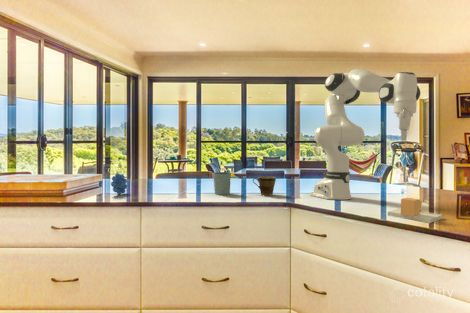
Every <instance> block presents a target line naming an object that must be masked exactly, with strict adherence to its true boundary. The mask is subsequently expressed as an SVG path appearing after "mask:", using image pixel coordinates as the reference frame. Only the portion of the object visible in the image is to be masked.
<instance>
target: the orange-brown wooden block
mask: <svg viewBox="0 0 470 313" xmlns="http://www.w3.org/2000/svg"><path fill="white" fill-rule="evenodd" d="M420 201H421V199H420V198H412V197H403V198H401V200H400V208H401V214H403V215H408V216H413V217H414V216H417V215H420Z"/></svg>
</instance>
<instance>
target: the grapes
mask: <svg viewBox="0 0 470 313" xmlns="http://www.w3.org/2000/svg"><path fill="white" fill-rule="evenodd" d="M111 180H112V181H111V183H110V185H111V187H112V191H113V192H114V193H116V194H117V195H118V196H119V195H121V194H125V193H126V189H128V185H127V183H128V179H127V178H125V175H124V174H123V173H121V174H120V173H119V172H117V173H116V174H115V175H114V176H112V177H111Z"/></svg>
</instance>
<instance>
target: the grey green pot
mask: <svg viewBox="0 0 470 313" xmlns="http://www.w3.org/2000/svg"><path fill="white" fill-rule="evenodd" d="M212 176H213V187H214V194H215V195H216V196H217V195H218V196H229V195H230V194H231V176H232V173H231V172H230V171H229V172H227V171H225V172H224V171H223V172H222V171H220V172H219V171H217V172H212Z"/></svg>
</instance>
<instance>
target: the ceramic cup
mask: <svg viewBox="0 0 470 313" xmlns="http://www.w3.org/2000/svg"><path fill="white" fill-rule="evenodd" d="M276 179H277V177H276V176H271V175H270V176H269V175H266V176H264V175H263V176H258V177H257V178H256V177H254V178H253V179H252V182H253V184H255V186H257V187H258V189H259V190H260V191H259V192H260V195H261V196H263V195H264V197H271V196H270V195H272V196H273V194H274V190H275V188H274V187H275V185H276ZM254 180H256V181H257V183H258V184H257V183H256V182H254Z"/></svg>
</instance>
